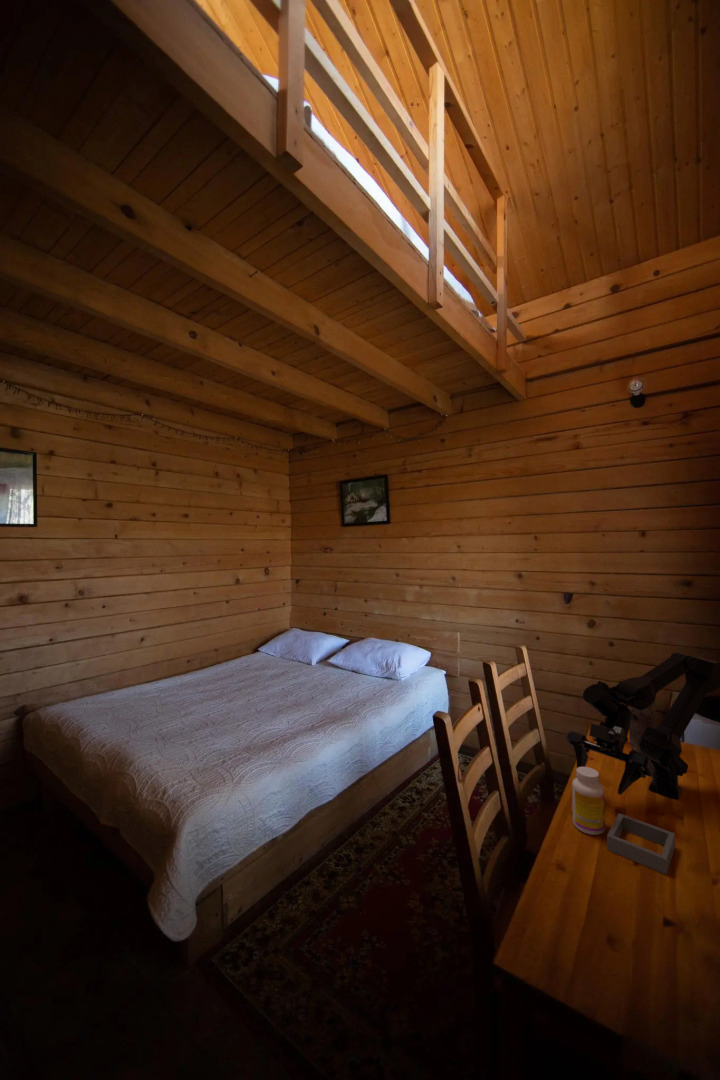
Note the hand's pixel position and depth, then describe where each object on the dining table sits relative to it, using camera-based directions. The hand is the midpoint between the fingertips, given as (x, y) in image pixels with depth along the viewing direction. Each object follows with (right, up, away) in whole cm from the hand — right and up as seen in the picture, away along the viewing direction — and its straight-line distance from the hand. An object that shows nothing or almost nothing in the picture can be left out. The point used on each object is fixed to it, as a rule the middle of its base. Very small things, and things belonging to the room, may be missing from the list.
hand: (598, 785), depth 104 cm
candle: (+33, -8, +33) cm, 47 cm away
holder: (+4, -8, -11) cm, 13 cm away
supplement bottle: (-4, -8, -3) cm, 10 cm away
